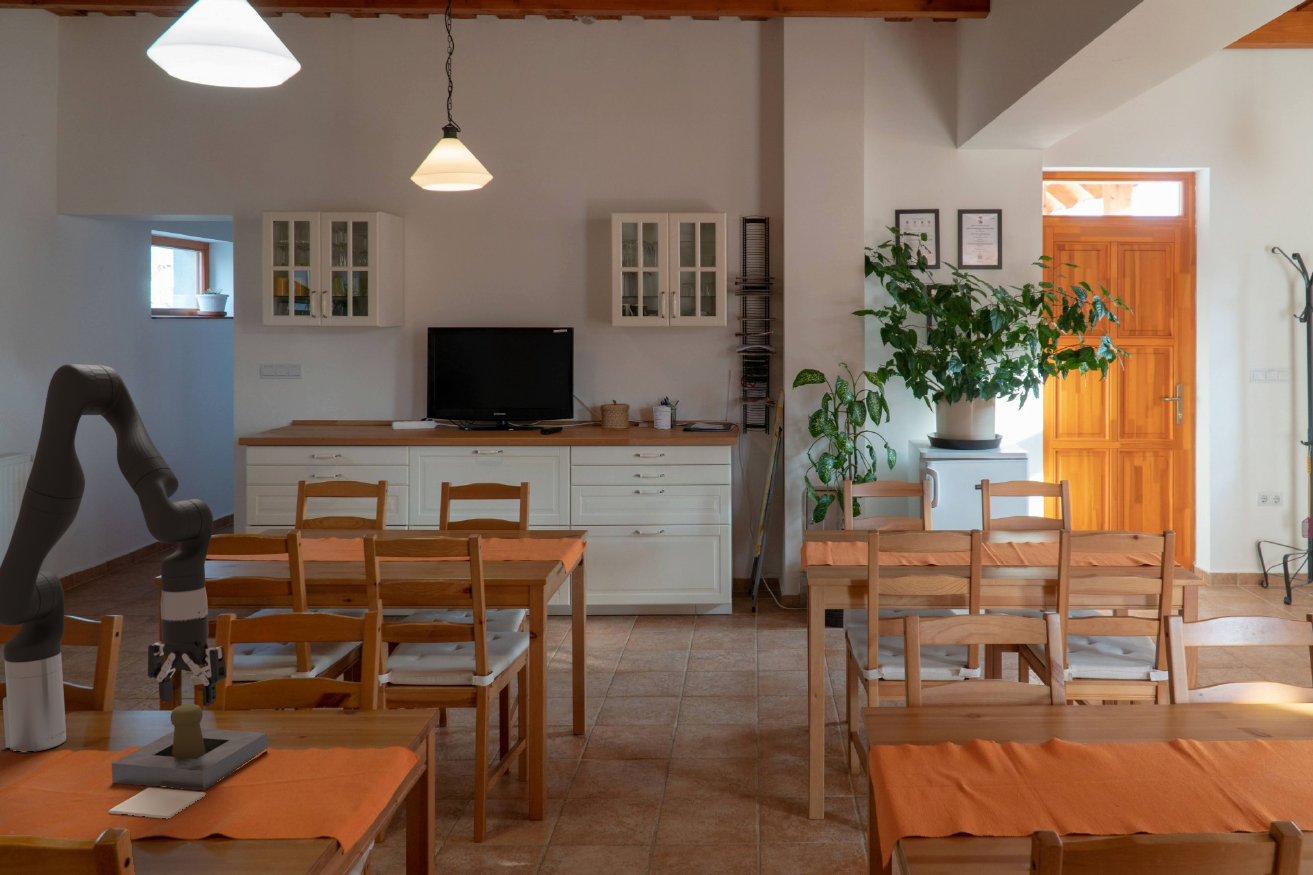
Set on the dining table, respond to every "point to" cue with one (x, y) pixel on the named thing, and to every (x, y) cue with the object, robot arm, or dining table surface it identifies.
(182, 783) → the frame
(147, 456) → the robot arm
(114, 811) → the pad
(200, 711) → the cork
